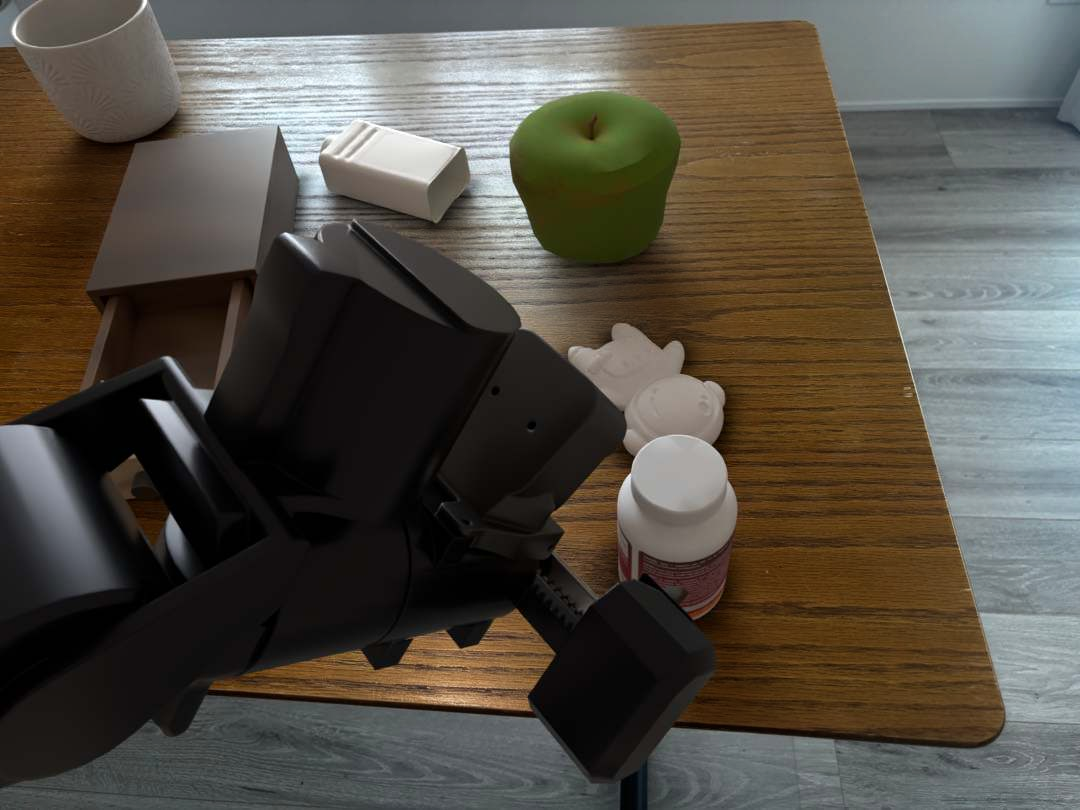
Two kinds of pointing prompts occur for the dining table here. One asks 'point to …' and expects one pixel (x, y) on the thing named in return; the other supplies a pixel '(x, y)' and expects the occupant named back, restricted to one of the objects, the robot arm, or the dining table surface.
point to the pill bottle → (678, 519)
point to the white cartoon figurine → (651, 388)
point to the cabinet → (196, 212)
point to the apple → (595, 174)
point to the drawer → (168, 344)
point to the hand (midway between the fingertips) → (610, 529)
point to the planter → (100, 65)
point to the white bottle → (394, 169)
